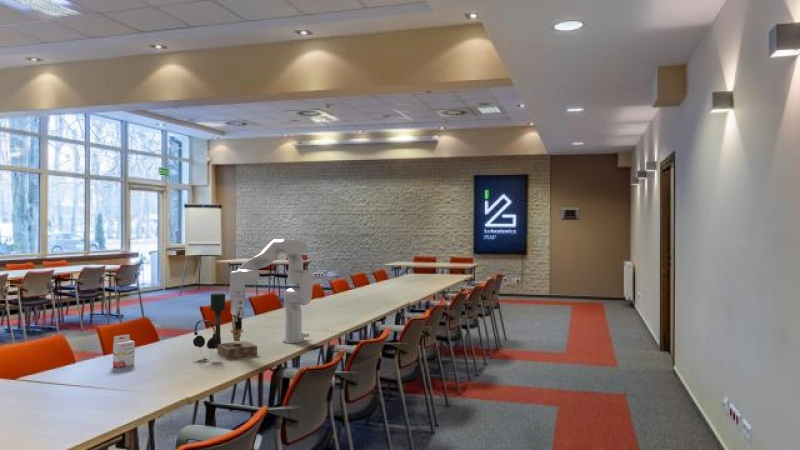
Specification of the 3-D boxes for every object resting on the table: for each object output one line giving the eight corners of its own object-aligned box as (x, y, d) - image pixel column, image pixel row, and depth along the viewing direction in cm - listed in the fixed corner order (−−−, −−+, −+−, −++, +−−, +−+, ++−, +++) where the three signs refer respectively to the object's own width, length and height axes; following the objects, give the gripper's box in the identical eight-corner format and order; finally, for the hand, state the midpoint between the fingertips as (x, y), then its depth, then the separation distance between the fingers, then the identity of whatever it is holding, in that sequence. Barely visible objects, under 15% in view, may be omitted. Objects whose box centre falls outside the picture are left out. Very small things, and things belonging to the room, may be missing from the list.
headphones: (182, 360, 290) (182, 321, 290) (199, 356, 300) (200, 318, 300) (204, 363, 283) (204, 323, 283) (221, 359, 293) (221, 320, 293)
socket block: (246, 349, 315) (246, 340, 315) (257, 355, 302) (257, 345, 302) (217, 353, 306) (217, 344, 306) (227, 359, 293) (227, 349, 293)
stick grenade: (228, 345, 326) (228, 293, 326) (222, 348, 317) (222, 295, 317) (213, 345, 327) (214, 293, 327) (207, 348, 318) (207, 294, 318)
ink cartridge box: (118, 368, 274) (118, 337, 274) (112, 366, 277) (112, 336, 277) (135, 364, 281) (135, 334, 281) (129, 363, 284) (129, 333, 284)
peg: (240, 339, 308) (240, 315, 308) (244, 341, 303) (244, 317, 303) (228, 340, 304) (229, 316, 304) (232, 342, 299) (233, 318, 299)
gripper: (249, 295, 299) (249, 330, 299) (238, 292, 313) (238, 325, 313) (235, 296, 295) (235, 331, 295) (225, 292, 309) (224, 326, 308)
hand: (236, 327), depth 304 cm, fingers closed on peg, 4 cm apart
